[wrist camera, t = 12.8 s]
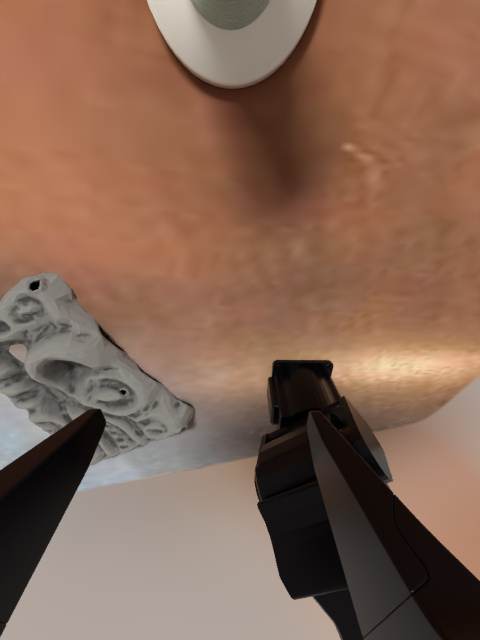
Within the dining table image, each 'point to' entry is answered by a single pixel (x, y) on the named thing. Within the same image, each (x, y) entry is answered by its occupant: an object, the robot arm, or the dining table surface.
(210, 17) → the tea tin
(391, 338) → the dining table surface
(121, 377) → the wall plaque
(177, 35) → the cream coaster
